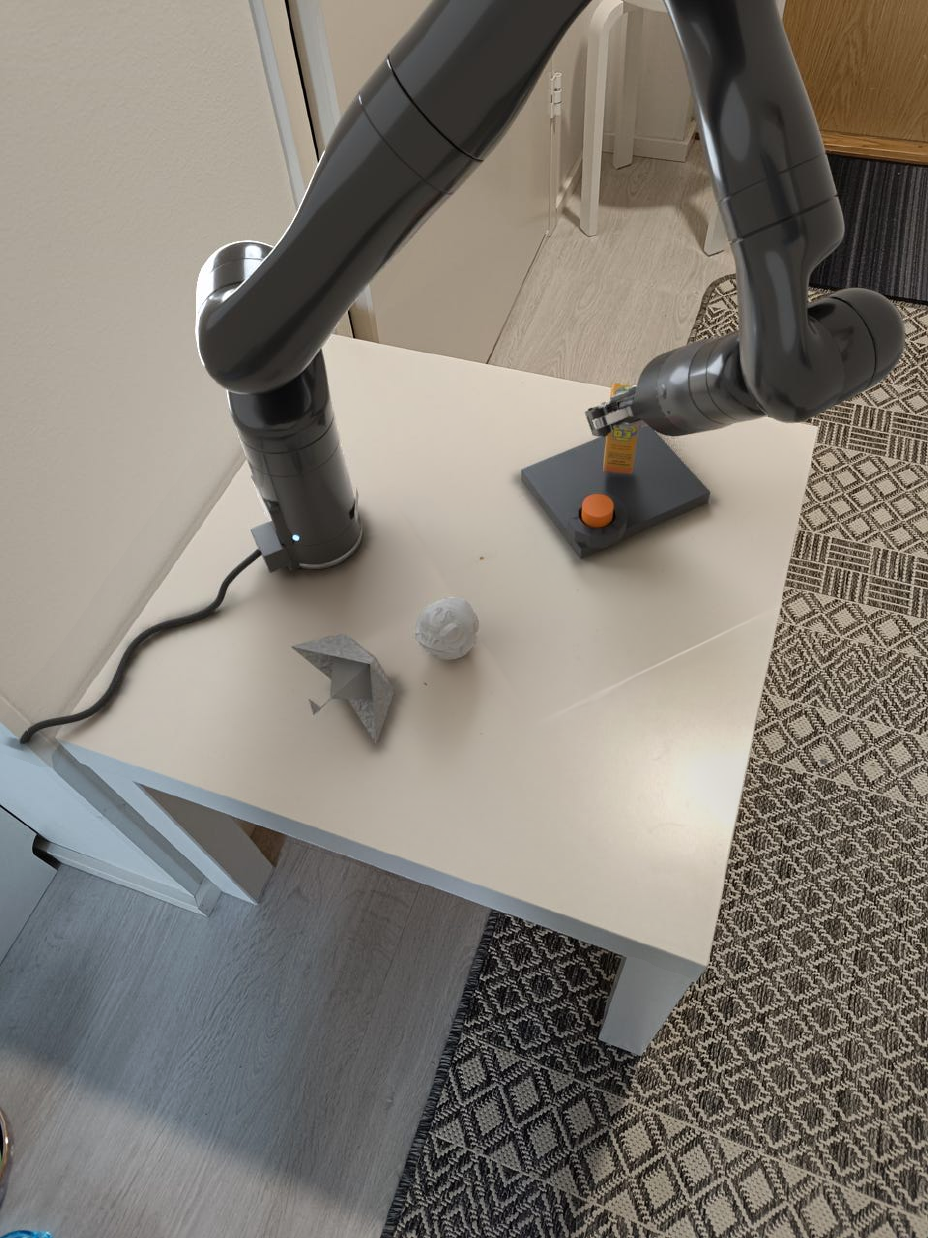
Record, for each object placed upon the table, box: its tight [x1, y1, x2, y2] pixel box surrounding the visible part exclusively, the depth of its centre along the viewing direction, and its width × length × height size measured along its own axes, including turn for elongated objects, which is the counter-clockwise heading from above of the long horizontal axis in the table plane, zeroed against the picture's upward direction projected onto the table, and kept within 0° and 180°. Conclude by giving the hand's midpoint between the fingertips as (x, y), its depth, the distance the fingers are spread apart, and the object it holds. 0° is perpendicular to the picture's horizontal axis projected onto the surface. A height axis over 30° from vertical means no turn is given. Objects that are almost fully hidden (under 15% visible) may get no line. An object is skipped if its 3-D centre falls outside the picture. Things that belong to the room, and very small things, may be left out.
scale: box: [520, 426, 711, 560], centre depth 98 cm, size 16×14×4 cm
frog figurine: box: [413, 596, 480, 661], centre depth 86 cm, size 6×7×7 cm
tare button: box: [581, 494, 614, 528], centre depth 93 cm, size 3×3×2 cm
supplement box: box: [603, 382, 639, 474], centre depth 94 cm, size 3×3×10 cm
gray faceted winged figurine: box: [289, 632, 395, 744], centre depth 84 cm, size 12×6×9 cm
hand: (613, 410), depth 94 cm, fingers closed on supplement box, 4 cm apart
